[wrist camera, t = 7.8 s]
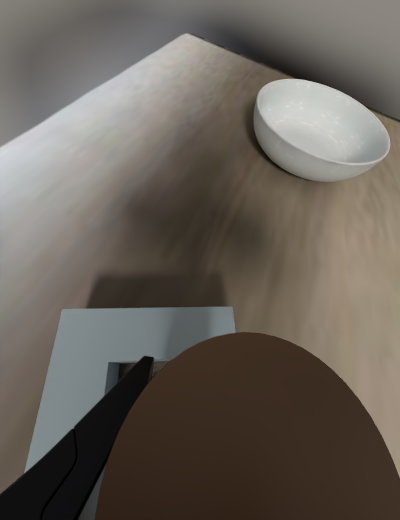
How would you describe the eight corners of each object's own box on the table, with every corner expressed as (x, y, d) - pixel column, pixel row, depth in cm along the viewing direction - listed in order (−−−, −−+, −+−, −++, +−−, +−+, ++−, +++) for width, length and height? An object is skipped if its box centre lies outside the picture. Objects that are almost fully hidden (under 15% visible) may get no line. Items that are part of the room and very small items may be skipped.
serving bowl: (374, 204, 35) (418, 170, 29) (251, 196, 32) (271, 155, 26) (334, 125, 44) (360, 87, 38) (235, 113, 41) (247, 69, 35)
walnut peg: (226, 414, 14) (486, 601, 3) (165, 451, 12) (166, 1096, 1) (200, 351, 15) (295, 297, 4) (143, 378, 14) (61, 406, 3)
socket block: (237, 496, 17) (259, 535, 13) (43, 526, 15) (-2, 583, 11) (221, 317, 23) (232, 306, 19) (81, 320, 21) (62, 309, 17)
